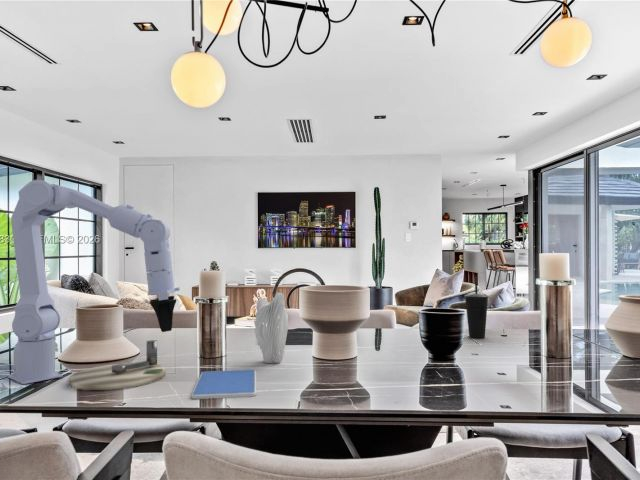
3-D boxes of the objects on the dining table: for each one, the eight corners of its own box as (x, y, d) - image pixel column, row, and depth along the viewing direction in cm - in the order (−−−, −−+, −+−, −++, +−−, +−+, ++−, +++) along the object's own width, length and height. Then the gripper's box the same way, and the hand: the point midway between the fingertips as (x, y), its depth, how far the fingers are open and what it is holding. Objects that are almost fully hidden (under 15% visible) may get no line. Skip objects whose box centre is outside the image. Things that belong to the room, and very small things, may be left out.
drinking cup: (491, 336, 153) (490, 275, 154) (486, 340, 147) (485, 276, 148) (468, 334, 157) (467, 275, 158) (462, 338, 151) (461, 276, 152)
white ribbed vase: (257, 358, 122) (256, 290, 123) (288, 358, 123) (288, 290, 123) (253, 366, 114) (253, 293, 115) (287, 365, 114) (287, 292, 115)
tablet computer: (201, 376, 107) (201, 370, 107) (256, 374, 109) (256, 368, 109) (189, 402, 88) (189, 395, 88) (256, 399, 90) (256, 392, 90)
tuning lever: (115, 373, 102) (115, 348, 102) (109, 371, 104) (109, 346, 104) (159, 364, 110) (159, 341, 110) (153, 362, 112) (153, 339, 112)
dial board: (53, 379, 103) (53, 374, 103) (138, 363, 118) (138, 358, 118) (93, 396, 90) (93, 391, 90) (183, 375, 105) (183, 370, 105)
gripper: (179, 268, 103) (186, 330, 102) (175, 268, 116) (181, 322, 116) (145, 273, 100) (152, 335, 100) (145, 272, 114) (151, 327, 113)
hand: (165, 329), depth 108 cm, fingers open, 7 cm apart
